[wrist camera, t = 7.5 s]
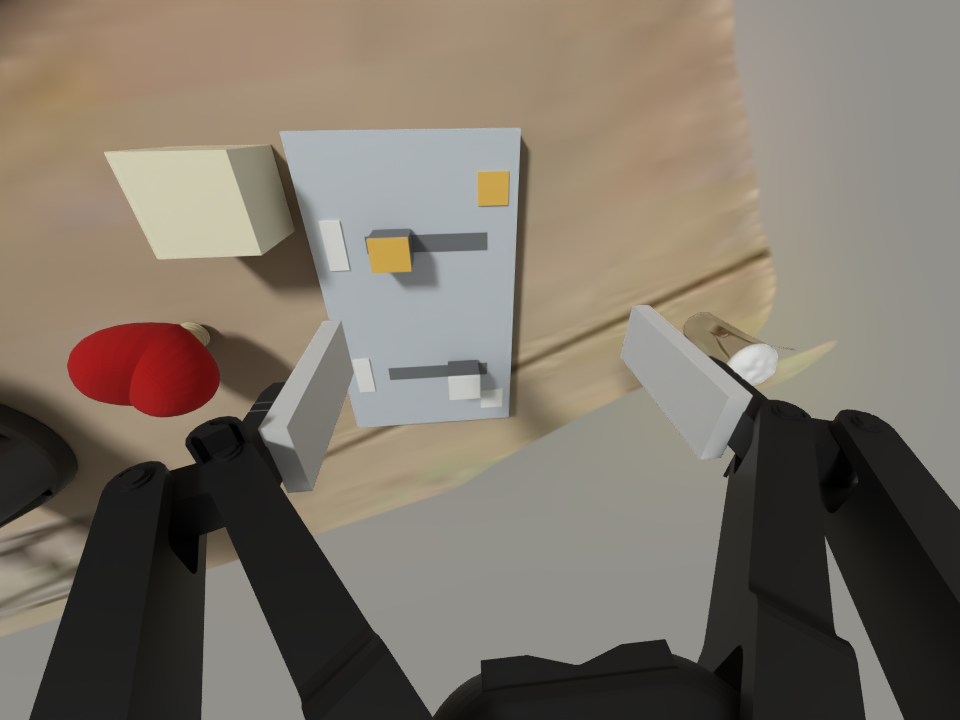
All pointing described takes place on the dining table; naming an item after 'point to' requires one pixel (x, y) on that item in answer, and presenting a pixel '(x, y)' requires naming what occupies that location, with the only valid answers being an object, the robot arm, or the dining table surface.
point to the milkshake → (732, 347)
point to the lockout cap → (205, 199)
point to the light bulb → (147, 367)
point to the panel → (415, 261)
